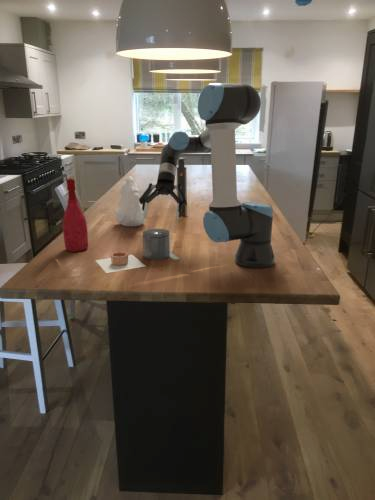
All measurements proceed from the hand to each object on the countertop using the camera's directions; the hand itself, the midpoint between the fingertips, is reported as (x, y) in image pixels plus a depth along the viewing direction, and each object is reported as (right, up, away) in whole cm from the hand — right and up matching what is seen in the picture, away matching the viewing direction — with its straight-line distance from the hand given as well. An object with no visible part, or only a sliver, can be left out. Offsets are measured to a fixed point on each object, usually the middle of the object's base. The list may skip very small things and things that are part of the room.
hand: (160, 217), depth 168 cm
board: (-14, -19, -14) cm, 28 cm away
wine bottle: (-36, -13, +6) cm, 39 cm away
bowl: (-14, -18, -14) cm, 27 cm away
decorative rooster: (-18, -1, +40) cm, 44 cm away
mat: (-1, -16, -5) cm, 17 cm away
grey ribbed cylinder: (-1, -16, -5) cm, 17 cm away
